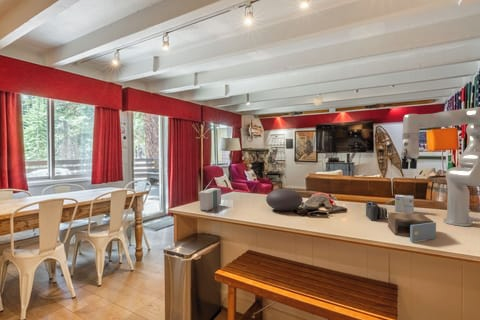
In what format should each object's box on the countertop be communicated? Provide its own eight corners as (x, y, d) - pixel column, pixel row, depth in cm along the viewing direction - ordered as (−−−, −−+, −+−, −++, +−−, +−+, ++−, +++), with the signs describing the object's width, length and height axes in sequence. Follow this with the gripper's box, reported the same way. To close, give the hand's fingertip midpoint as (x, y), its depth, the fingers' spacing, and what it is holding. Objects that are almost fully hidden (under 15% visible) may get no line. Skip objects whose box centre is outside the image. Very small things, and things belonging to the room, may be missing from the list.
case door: (433, 237, 124) (433, 222, 124) (438, 239, 122) (438, 223, 122) (410, 241, 120) (410, 225, 119) (414, 242, 118) (414, 226, 117)
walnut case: (422, 229, 138) (422, 214, 138) (433, 238, 125) (433, 221, 125) (387, 227, 143) (388, 212, 143) (395, 235, 129) (395, 218, 129)
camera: (390, 222, 153) (390, 205, 152) (370, 221, 155) (370, 204, 154) (382, 216, 167) (382, 200, 166) (363, 215, 169) (364, 199, 168)
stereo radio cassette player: (208, 211, 182) (208, 182, 181) (198, 210, 184) (197, 182, 184) (221, 205, 201) (221, 179, 200) (211, 204, 204) (211, 178, 203)
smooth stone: (276, 205, 201) (276, 185, 200) (308, 209, 186) (308, 188, 186) (259, 211, 181) (259, 189, 180) (293, 216, 166) (293, 193, 166)
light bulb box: (413, 211, 178) (413, 195, 177) (413, 213, 172) (414, 197, 171) (395, 209, 183) (395, 194, 183) (394, 211, 178) (394, 195, 177)
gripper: (410, 136, 135) (409, 169, 135) (425, 137, 145) (423, 169, 145) (395, 136, 141) (393, 168, 142) (410, 138, 151) (408, 168, 151)
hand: (409, 168), depth 143 cm, fingers open, 9 cm apart
